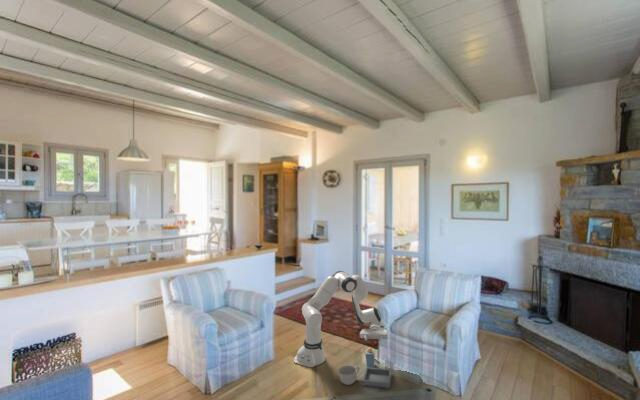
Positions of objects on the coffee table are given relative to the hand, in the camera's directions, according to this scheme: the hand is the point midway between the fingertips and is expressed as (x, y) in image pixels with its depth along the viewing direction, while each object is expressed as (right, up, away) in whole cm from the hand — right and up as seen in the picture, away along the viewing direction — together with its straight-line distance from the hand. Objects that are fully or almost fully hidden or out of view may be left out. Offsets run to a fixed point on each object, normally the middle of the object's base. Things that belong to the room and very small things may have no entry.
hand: (372, 339), depth 224 cm
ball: (-4, -2, -12) cm, 12 cm away
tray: (-1, -14, -26) cm, 29 cm away
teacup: (-18, -15, -25) cm, 34 cm away
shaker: (-3, -13, -11) cm, 17 cm away
